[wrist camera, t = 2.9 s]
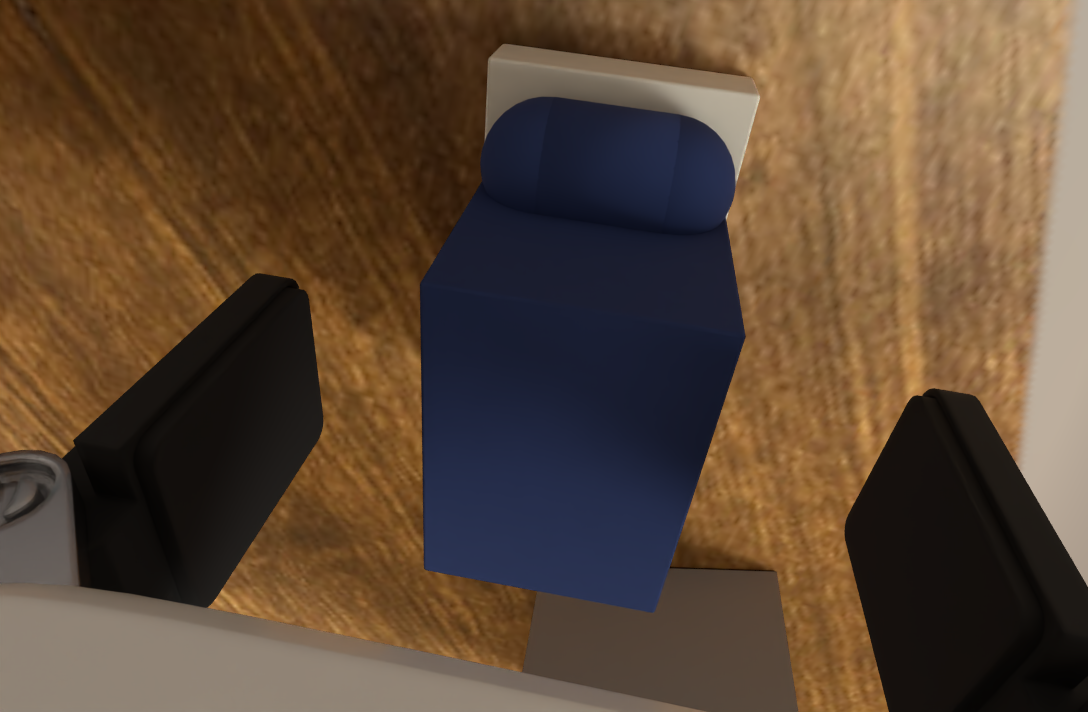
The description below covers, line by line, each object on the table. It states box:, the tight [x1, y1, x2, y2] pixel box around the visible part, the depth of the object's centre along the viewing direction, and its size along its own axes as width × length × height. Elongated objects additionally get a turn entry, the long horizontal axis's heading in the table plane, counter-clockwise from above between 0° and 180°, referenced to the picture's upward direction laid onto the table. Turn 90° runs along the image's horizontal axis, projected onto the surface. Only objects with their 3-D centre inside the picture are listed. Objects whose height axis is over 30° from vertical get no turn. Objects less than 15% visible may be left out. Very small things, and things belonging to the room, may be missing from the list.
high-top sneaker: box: [420, 44, 760, 613], centre depth 12 cm, size 8×4×6 cm, turn 175°
